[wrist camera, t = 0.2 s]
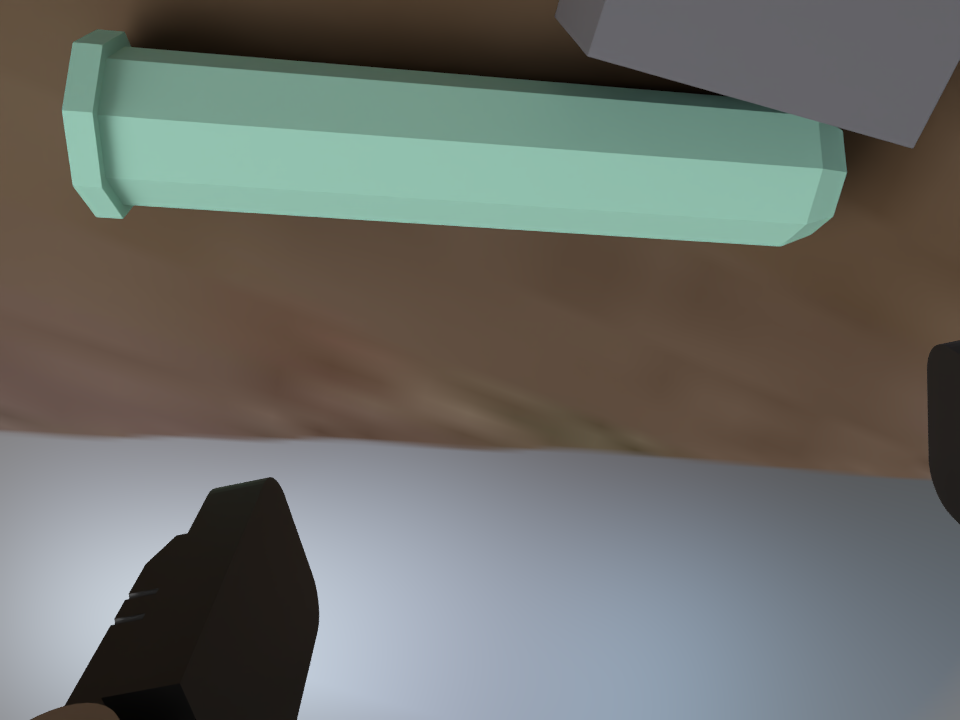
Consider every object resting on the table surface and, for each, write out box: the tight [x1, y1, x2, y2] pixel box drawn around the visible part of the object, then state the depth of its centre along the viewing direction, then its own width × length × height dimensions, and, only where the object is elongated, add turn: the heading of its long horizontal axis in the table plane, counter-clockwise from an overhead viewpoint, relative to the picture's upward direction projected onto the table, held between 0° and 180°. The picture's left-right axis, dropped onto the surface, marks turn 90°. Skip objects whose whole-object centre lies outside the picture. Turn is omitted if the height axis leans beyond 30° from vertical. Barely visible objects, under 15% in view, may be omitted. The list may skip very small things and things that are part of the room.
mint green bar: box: [62, 29, 847, 246], centre depth 29 cm, size 6×6×25 cm
